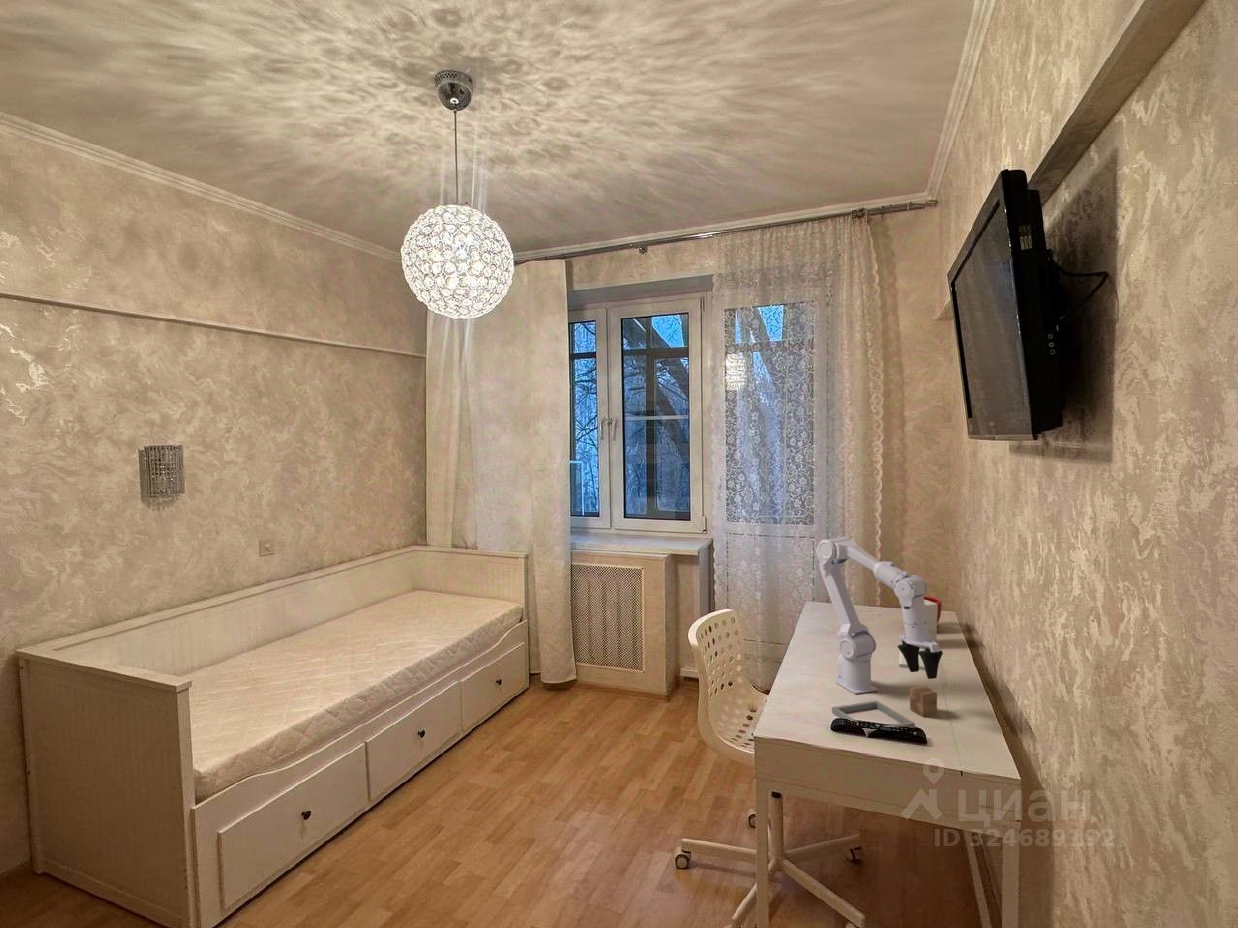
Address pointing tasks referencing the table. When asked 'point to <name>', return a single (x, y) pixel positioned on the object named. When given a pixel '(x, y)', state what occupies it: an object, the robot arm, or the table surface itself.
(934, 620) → the skincare box
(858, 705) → the tray frame
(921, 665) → the hard drive
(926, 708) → the walnut block
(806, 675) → the table surface
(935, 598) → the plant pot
